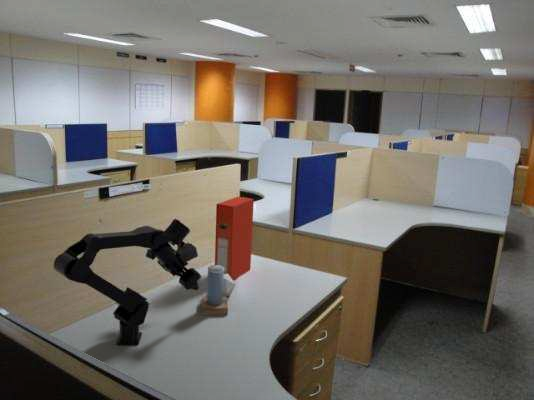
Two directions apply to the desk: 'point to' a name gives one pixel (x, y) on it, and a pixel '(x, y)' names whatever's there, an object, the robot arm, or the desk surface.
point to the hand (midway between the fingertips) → (190, 282)
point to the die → (227, 285)
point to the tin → (215, 285)
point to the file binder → (234, 235)
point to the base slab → (214, 308)
